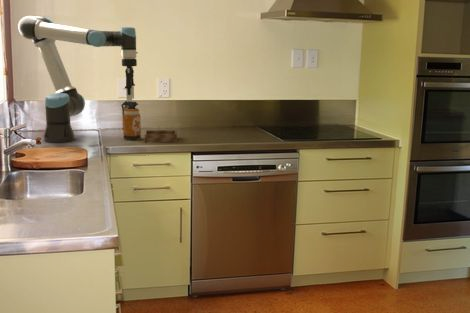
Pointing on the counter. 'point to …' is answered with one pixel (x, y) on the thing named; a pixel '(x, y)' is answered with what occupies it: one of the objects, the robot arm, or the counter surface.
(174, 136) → the cradle
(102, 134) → the counter surface
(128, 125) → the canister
